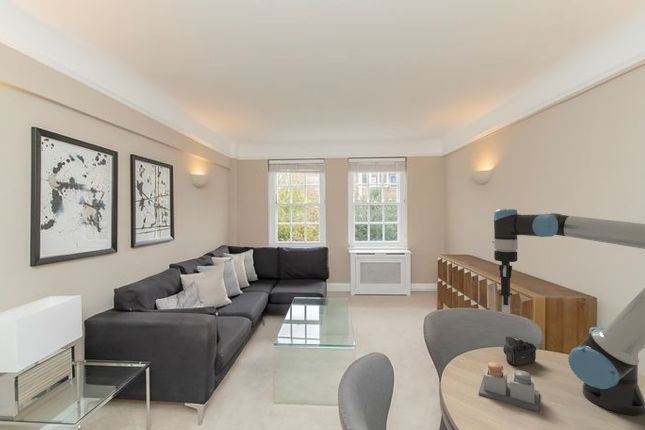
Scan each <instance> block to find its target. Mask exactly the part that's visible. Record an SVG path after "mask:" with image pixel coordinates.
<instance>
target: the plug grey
mask: <svg viewBox="0 0 645 430" xmlns="http://www.w3.org/2000/svg"><path fill="white" fill-rule="evenodd" d="M513 373H514V376H515V382H519V383H523V384H527V385H530V379H531V378H532V374H530V373H529V372H528V371H525V370H520V369H517V370H514V371H513Z"/></svg>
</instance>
